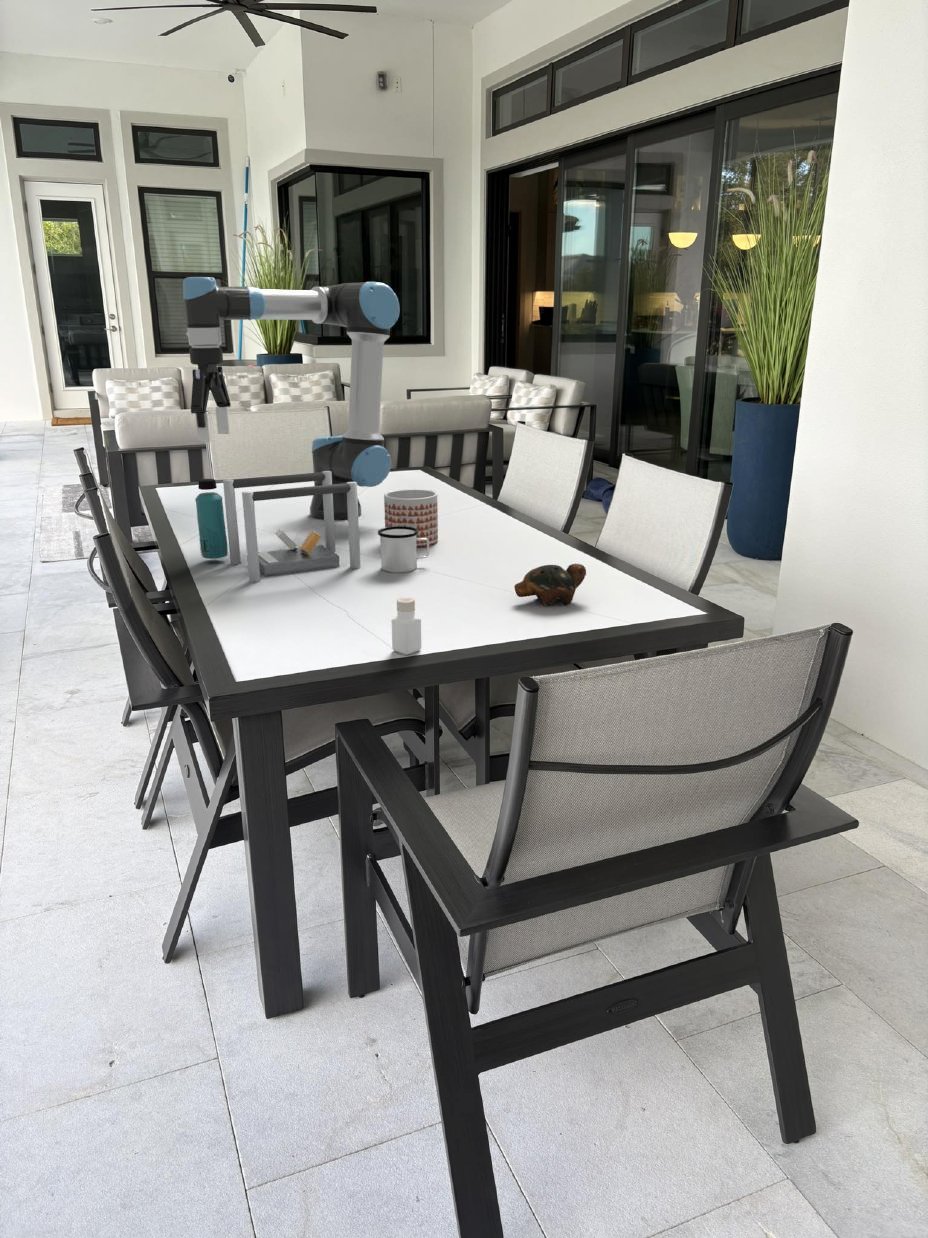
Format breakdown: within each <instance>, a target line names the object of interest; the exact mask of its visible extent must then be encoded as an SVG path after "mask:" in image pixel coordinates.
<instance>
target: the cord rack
mask: <svg viewBox="0 0 928 1238" xmlns="http://www.w3.org/2000/svg"><path fill="white" fill-rule="evenodd" d="M314 481H322V486H314V485H313V486H302V487H291V488H280V489H279V488H278V489H269V490H268V489H267V490H260V491H259V490H258V491H242V492H241V495H242V496H241V498H242V508H243V509H242V510H243V519H244V520H243V521H244V533H245V543H246V544H245V545H246V555H247V557H246V558H247V568H248V578H249V579H248V580H249V583H259V582H261V572H260V569H259V557H258V553H259V549H258V545H259V544H258V534H257V533H258V532H257V522H256V510H255V502H260V501H261V502H262V501H267V500H268V501H269V500H280V499H289V498H300V497H308V496H309V497H311V496H312V497H313V495H322V494H323V507H324V519H323V523H324V539H325V547H326V548H328V549H329V550H331V551H332V552H334V553H335V552H336V537H335V536H336V534H335V533H336V532H335V520H334V511H333V493H342V492H347V508H348V519H347V528H348V529H347V530H348V546H349V547H348V548H349V549H348V550H349V551H348V552H349V568H351V569H360V568H361V550H360V549H361V548H360V547H361V545H360V528H359V527H360V526H359V525H360V524H359V516H358V499H359V498H357V497H358V485H357V482H347V483H343V484H333V485H332V473H331V471H322V472H318V473H314V472H308V473H296V474H286V475H285V474H283V475H274V476H273V475H272V476H263V477H251V478H250V477H249V478H238V479H227V478H226V479H222V484H223V496H224V505H225V516H226V529H227V538H228V539H227V541H228V552H229V558H230V559H229V560H230V564H231V565H233V566H234V565H236V566H237V565H240V564H242V560H241V550H240V539H239V538H240V537H239V535H240V534H239V526H238V516H237V515H238V512H237V503H236V491H235V489H240V488H241V489H243V488H252V487H253V488H256V487H264V486H265V487H266V486H275V485H287V484H288V485H289V484H298V483H311V482H314Z"/></svg>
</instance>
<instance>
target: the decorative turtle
mask: <svg viewBox="0 0 928 1238" xmlns="http://www.w3.org/2000/svg"><path fill="white" fill-rule="evenodd" d="M586 576H587V569H586V567H585V566H584V564H581V563H571V564H569V565H568V566H567V568H566V569H564V568H563V567H562V566H560V565H558V564H545V565H540V566H538V567H536V568H535V567H534V568H533V569H531V570H529V571H528V572H526V574H525V575H524V576H523V579H522V580H521V581H520V582H518V583H516V584H514V591H515V594H516V595H517V597H519V598H525V597H526V598H527V597H530V596H531V597H532V596H536V598H537V599H539V600H541V601H542V604H543V605H545V606H546V607H549V606H551V605H552V604H553V603H554V602H555V601H556V600H557V599H559V600H560V601H561V603H563V604H564V605H566V606H568V605H570V604H571V603H572V601H573V599H574V596H575V593H576V590H577V589H578V588H579V586H580V585H581V584H583V581H584V580H585V579H586Z"/></svg>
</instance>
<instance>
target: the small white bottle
mask: <svg viewBox="0 0 928 1238" xmlns="http://www.w3.org/2000/svg"><path fill="white" fill-rule="evenodd" d="M415 601H416V599H415V598H413V597H408V596H406V597H403V596H402V597H399V598H397V599H396V611H397V612H396V613H397V614H396V616H394V617H393V618H392V619H391V643H392V645H391V646H392V651H394V652H397V653H400V654H402V655H404V656H405V655H407V656H408V655H411V654H413V653H416V652H418V651H419V652H420V651H421V650H422V619H421V618H420V616H418V615H416V612H415V611H416V606H415V605H416V602H415Z"/></svg>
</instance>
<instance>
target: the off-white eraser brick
mask: <svg viewBox="0 0 928 1238" xmlns="http://www.w3.org/2000/svg"><path fill="white" fill-rule="evenodd" d="M274 535H276V536H277V538H278V539H280V540H281V541H282V543H284V545H285V546H287V547H288V549H292V550H293V549H294V550H297V548H298V547H297V546H298V545H297V544H296V543H295V542H294V541H293V540H292V539H291V538H290V537H289V535H287V534H286V533H285V532H284V531H283V530H282V529H280V528H279V529H277V530H276V532H274Z"/></svg>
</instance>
